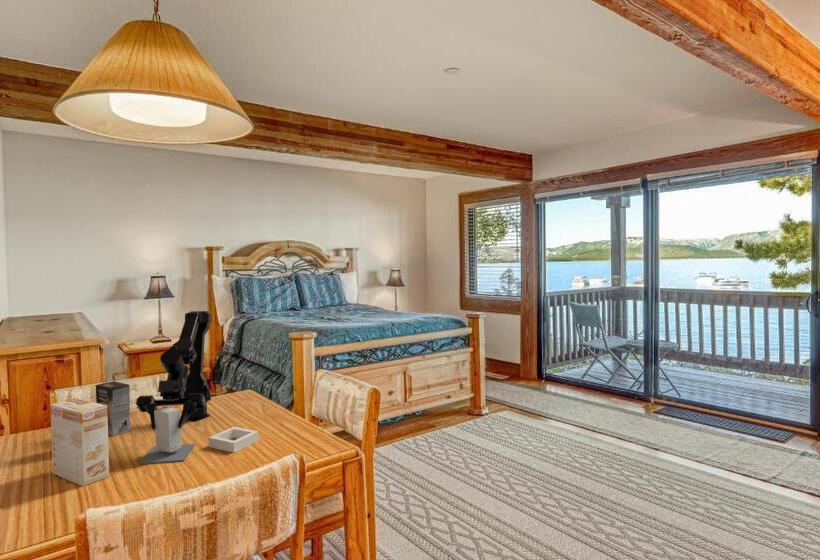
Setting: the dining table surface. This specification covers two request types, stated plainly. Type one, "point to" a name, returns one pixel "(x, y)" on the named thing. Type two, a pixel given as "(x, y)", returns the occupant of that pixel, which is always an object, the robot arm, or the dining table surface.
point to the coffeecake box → (80, 441)
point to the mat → (167, 455)
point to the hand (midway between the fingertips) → (166, 428)
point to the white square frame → (242, 441)
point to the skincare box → (167, 429)
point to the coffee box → (115, 405)
